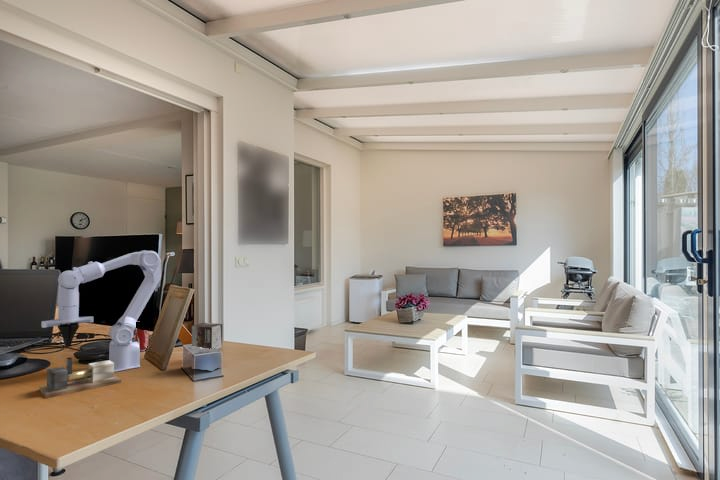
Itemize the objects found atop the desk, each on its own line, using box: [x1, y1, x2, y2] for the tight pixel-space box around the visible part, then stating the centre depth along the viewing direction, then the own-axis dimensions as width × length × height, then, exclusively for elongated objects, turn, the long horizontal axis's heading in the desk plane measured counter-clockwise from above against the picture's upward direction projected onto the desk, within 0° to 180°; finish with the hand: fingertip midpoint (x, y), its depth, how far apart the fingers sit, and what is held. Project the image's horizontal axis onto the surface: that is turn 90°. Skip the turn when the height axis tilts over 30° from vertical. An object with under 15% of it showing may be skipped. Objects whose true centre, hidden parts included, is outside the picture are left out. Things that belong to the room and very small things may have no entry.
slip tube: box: [65, 356, 92, 382], centre depth 132 cm, size 9×3×7 cm, turn 137°
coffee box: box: [191, 322, 224, 356], centre depth 154 cm, size 9×6×16 cm
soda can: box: [134, 328, 150, 352], centre depth 178 cm, size 5×5×12 cm
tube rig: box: [38, 360, 122, 399], centre depth 133 cm, size 20×10×6 cm, turn 137°
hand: (67, 346), depth 142 cm, fingers closed
